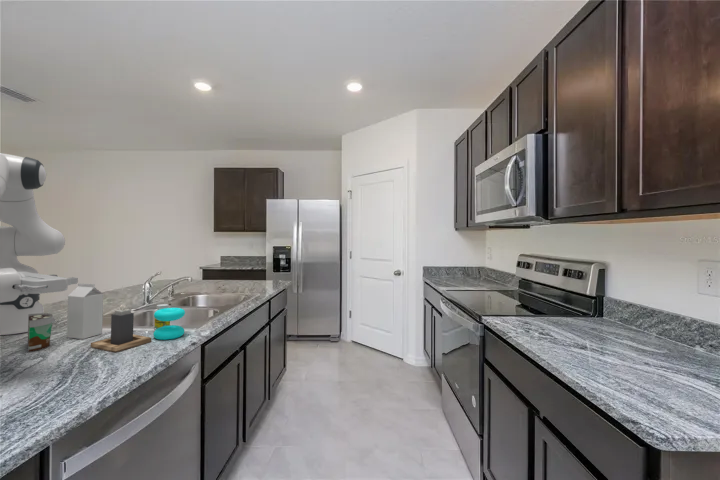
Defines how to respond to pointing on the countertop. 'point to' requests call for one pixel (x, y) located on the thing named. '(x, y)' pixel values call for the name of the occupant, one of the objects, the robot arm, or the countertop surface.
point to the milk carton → (84, 312)
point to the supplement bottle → (161, 323)
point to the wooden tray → (110, 347)
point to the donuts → (169, 330)
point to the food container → (39, 330)
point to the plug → (122, 326)
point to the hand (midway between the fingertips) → (66, 278)
